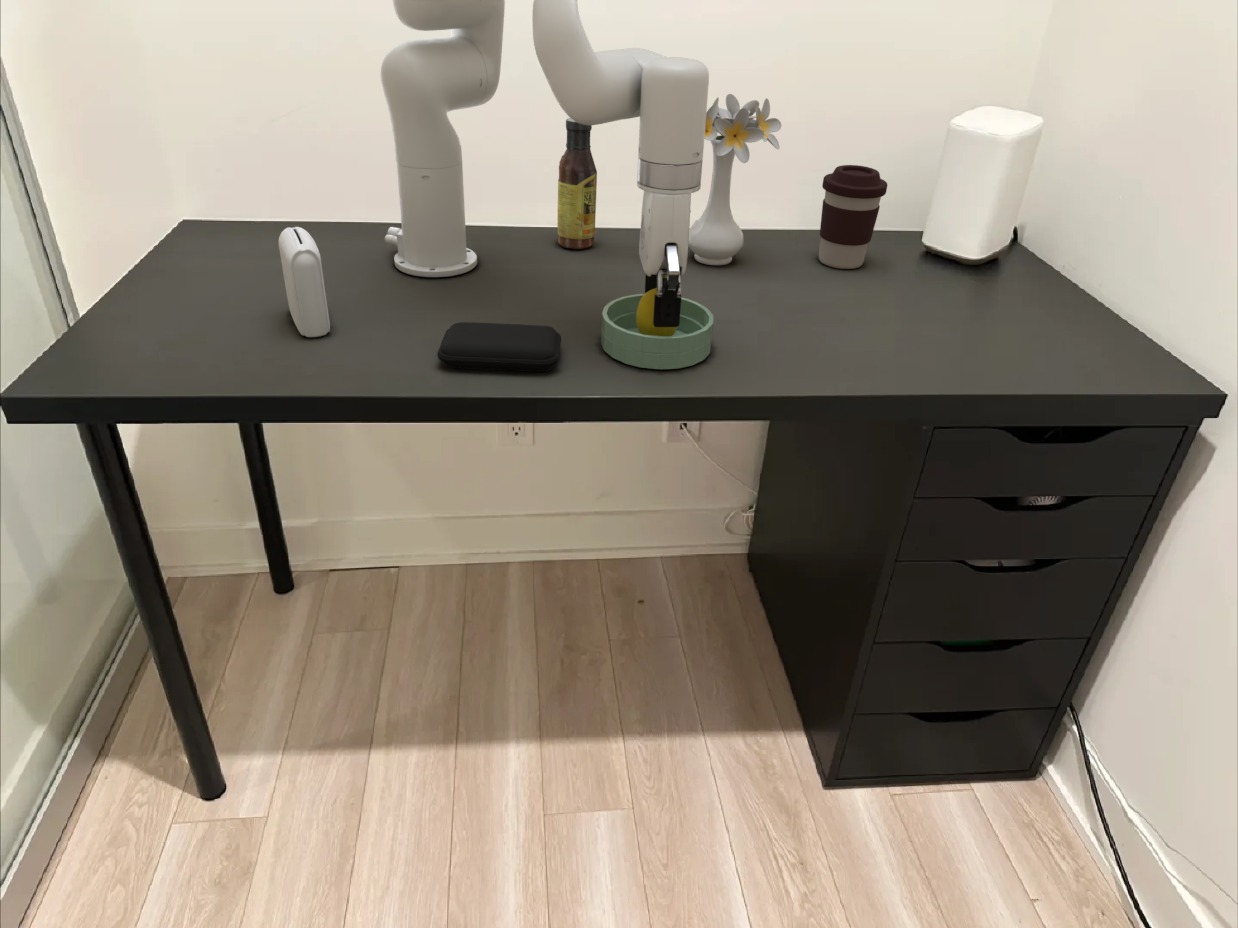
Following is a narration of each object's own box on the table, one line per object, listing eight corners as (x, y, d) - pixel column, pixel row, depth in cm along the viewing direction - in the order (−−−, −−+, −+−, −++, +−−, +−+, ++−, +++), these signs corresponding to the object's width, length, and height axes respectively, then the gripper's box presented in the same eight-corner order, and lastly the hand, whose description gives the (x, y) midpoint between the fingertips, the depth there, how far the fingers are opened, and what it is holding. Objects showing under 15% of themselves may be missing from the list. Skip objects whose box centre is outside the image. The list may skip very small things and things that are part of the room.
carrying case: (562, 340, 117) (449, 335, 116) (562, 318, 115) (448, 313, 115) (557, 377, 108) (435, 372, 107) (557, 354, 106) (433, 348, 106)
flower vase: (645, 248, 149) (655, 88, 135) (750, 245, 152) (770, 89, 139) (664, 276, 138) (677, 106, 124) (776, 272, 141) (800, 106, 128)
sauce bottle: (589, 252, 145) (593, 125, 135) (552, 248, 146) (553, 122, 136) (598, 240, 151) (602, 117, 140) (562, 236, 152) (564, 113, 141)
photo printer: (287, 310, 120) (272, 220, 114) (319, 306, 122) (306, 217, 115) (299, 340, 113) (284, 246, 106) (334, 336, 114) (321, 242, 108)
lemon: (647, 357, 113) (651, 297, 109) (627, 339, 117) (630, 282, 113) (684, 349, 115) (690, 291, 111) (663, 333, 119) (668, 276, 115)
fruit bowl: (582, 354, 113) (583, 322, 111) (629, 316, 124) (630, 286, 122) (685, 380, 108) (689, 347, 106) (725, 338, 119) (728, 307, 117)
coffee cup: (879, 260, 149) (898, 169, 140) (858, 277, 141) (877, 182, 133) (823, 248, 153) (838, 158, 145) (800, 263, 146) (815, 170, 138)
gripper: (630, 155, 111) (625, 286, 120) (645, 193, 97) (638, 338, 106) (690, 156, 112) (680, 286, 121) (713, 194, 97) (701, 338, 106)
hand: (661, 310), depth 113 cm, fingers open, 9 cm apart
